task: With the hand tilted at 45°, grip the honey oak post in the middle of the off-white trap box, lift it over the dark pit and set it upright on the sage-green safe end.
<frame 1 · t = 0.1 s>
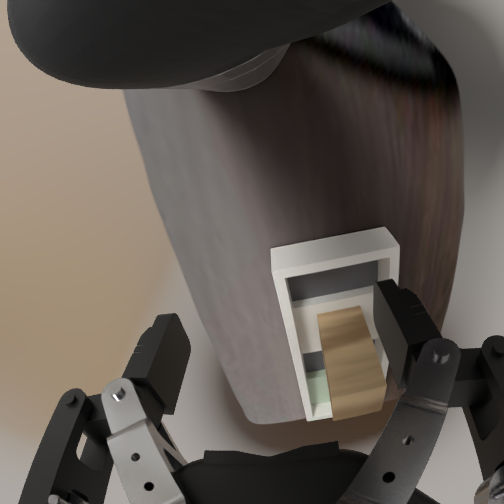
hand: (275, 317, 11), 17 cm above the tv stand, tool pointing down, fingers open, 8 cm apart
trap box: (338, 338, 36), on the tv stand
oak post: (339, 325, 33), point 1 cm above the tv stand, touching trap box
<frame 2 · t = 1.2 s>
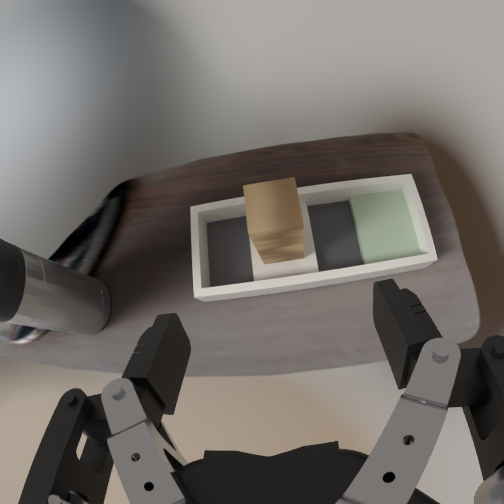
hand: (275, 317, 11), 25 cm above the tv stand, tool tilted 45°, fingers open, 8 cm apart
trap box: (312, 241, 38), on the tv stand
oak post: (281, 242, 37), point 1 cm above the tv stand, touching trap box
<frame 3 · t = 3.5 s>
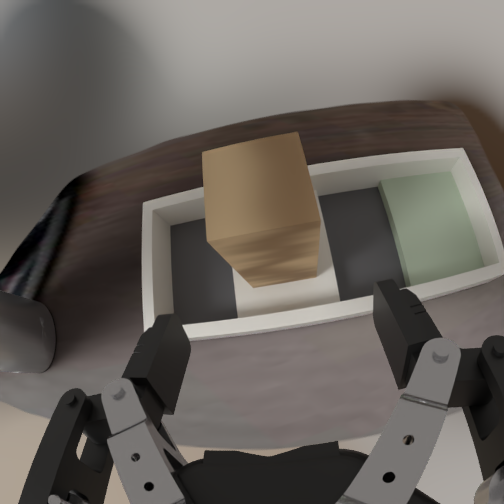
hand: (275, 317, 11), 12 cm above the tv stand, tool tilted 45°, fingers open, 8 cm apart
trap box: (327, 249, 24), on the tv stand
oak post: (279, 252, 24), point 1 cm above the tv stand, touching trap box
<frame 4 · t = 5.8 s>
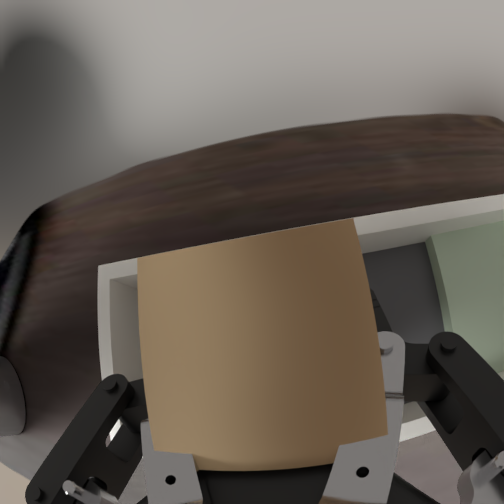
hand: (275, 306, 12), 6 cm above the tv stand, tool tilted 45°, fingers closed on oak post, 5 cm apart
trap box: (355, 336, 17), on the tv stand
oak post: (289, 348, 16), point 1 cm above the tv stand, touching gripper, trap box
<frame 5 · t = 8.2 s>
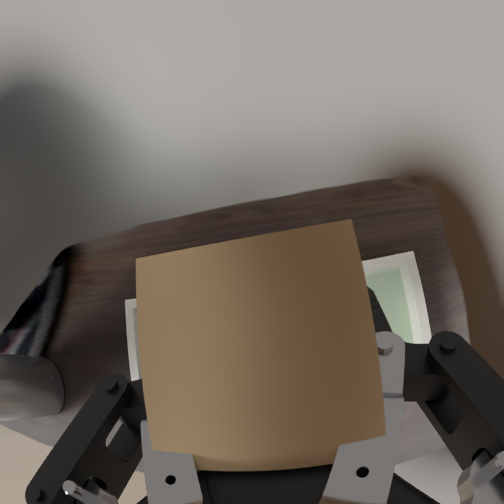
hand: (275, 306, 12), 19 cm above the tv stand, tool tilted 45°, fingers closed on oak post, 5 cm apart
trap box: (276, 343, 29), on the tv stand
oak post: (288, 348, 16), point 14 cm above the tv stand, touching gripper
when the fingers open (8 cm above the tv stand, at t = 10.8 s): oak post drops 1 cm, resting on trap box.
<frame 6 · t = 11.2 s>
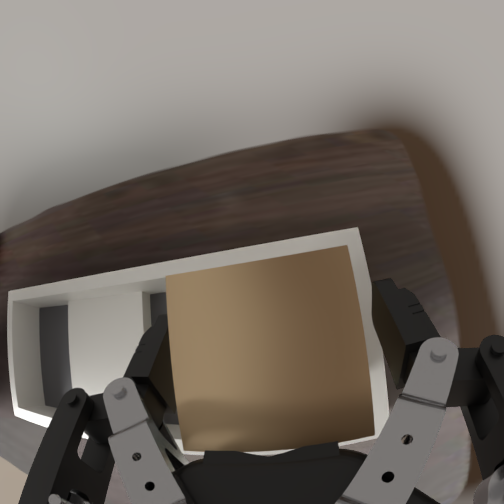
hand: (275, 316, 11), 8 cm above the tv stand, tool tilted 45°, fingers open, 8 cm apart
trap box: (156, 359, 20), on the tv stand
oak post: (291, 349, 17), point 1 cm above the tv stand, touching trap box
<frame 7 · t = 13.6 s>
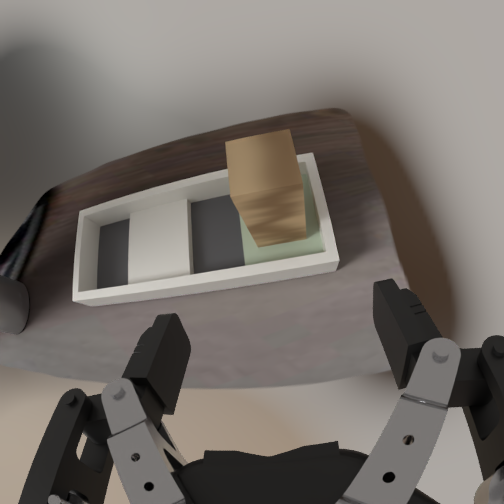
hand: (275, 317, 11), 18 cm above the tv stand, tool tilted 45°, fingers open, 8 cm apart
trap box: (193, 242, 34), on the tv stand
oak post: (278, 221, 31), point 1 cm above the tv stand, touching trap box
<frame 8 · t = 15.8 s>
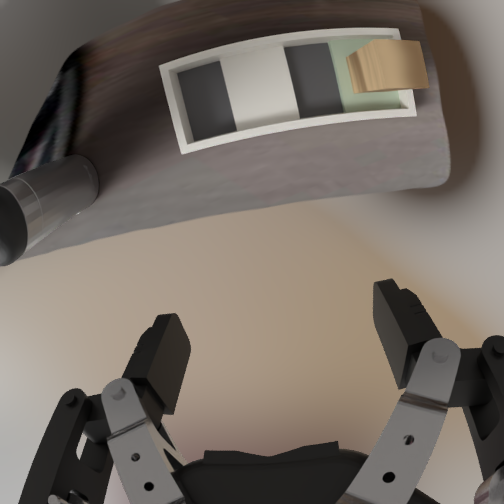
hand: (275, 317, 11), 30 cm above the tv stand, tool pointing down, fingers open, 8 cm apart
trap box: (290, 82, 33), on the tv stand
oak post: (367, 74, 30), point 1 cm above the tv stand, touching trap box
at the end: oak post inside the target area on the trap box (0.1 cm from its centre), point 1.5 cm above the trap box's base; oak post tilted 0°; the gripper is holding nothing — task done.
